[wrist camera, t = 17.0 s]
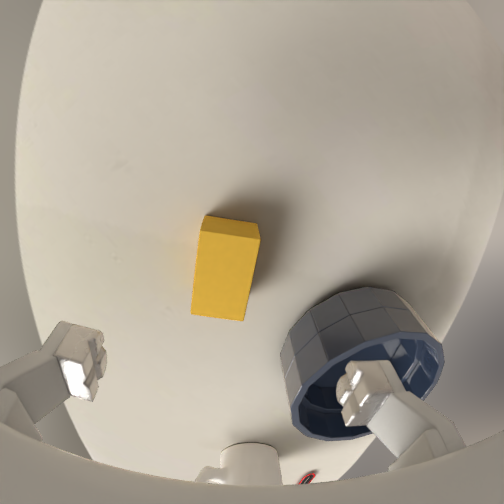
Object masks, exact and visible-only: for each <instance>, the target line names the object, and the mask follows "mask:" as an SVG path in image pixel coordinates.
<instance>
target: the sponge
mask: <svg viewBox="0 0 504 504" xmlns="http://www.w3.org/2000/svg"><path fill="white" fill-rule="evenodd" d="M260 242H261V238H260V234H259V230H258V225H257V223H251V222H244V221H238V220H232V219H225V218H219V217H212V216H204V219H203V222H202V226H201V229H200V234H199V241H198V249H197V258H196V266H195V275H194V284H193V293H192V303H191V314H193V315H200V316H207V317H214V318H222V319H229V320H237V321H243V320H244V316H245V312H246V307H247V302H248V298H249V293H250V288H251V284H252V279H253V274H254V270H255V265H256V260H257V256H258V251H259V246H260Z"/></svg>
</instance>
